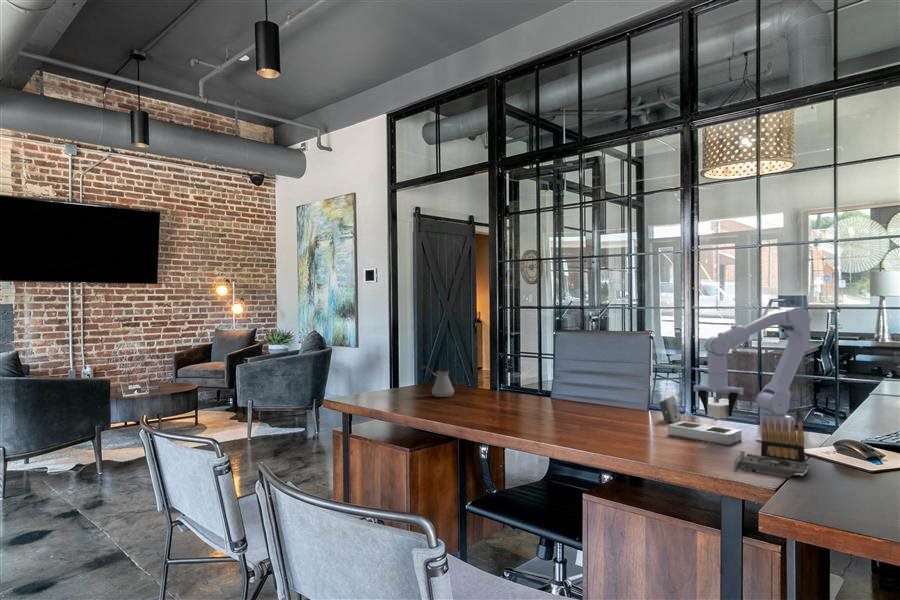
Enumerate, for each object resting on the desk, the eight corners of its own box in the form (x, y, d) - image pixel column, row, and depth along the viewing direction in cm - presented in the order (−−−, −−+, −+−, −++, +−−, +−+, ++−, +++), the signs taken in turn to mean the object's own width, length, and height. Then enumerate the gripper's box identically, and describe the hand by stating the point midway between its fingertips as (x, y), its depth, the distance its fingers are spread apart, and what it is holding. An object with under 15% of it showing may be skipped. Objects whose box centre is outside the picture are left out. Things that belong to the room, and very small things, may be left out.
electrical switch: (674, 423, 203) (671, 399, 204) (660, 423, 206) (657, 399, 207) (681, 419, 211) (678, 395, 211) (668, 419, 214) (665, 395, 214)
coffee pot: (459, 396, 272) (458, 367, 272) (442, 399, 264) (441, 369, 264) (431, 392, 288) (430, 364, 288) (414, 395, 280) (414, 366, 280)
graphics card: (728, 459, 145) (740, 449, 154) (729, 473, 145) (740, 462, 154) (802, 472, 134) (810, 460, 143) (803, 487, 134) (810, 474, 143)
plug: (729, 420, 176) (729, 404, 176) (719, 422, 174) (718, 406, 174) (717, 417, 180) (717, 402, 180) (707, 419, 178) (707, 404, 178)
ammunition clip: (760, 458, 156) (759, 416, 157) (762, 456, 158) (761, 415, 158) (804, 464, 150) (803, 421, 150) (805, 463, 151) (804, 420, 151)
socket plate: (741, 440, 176) (741, 430, 176) (728, 446, 170) (728, 435, 170) (682, 430, 192) (681, 420, 192) (667, 435, 185) (667, 425, 185)
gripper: (744, 373, 176) (745, 414, 176) (696, 370, 185) (697, 410, 185) (741, 375, 171) (742, 418, 170) (692, 373, 179) (692, 414, 179)
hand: (718, 414), depth 177 cm, fingers closed on plug, 6 cm apart
